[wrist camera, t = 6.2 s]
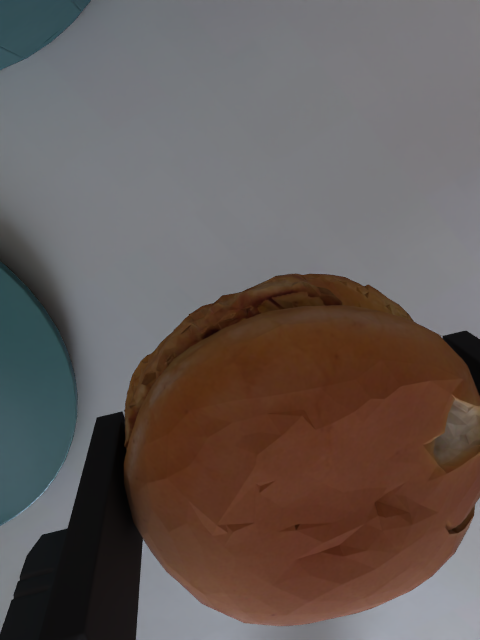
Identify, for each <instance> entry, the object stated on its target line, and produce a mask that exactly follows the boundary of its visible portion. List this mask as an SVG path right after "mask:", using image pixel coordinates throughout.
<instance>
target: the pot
mask: <svg viewBox="0 0 480 640" xmlns="http://www.w3.org/2000/svg"><path fill="white" fill-rule="evenodd" d="M90 1H91V0H0V70H1V69H3V68H6V67H8V66H10V65H12V64H15V63H17V62H19V61H21V60H23V59H26V58H28V57H29V56H31V55H32V54H34V53H35V52H37V51H38V50H40V49H41V48H43V47H44V46H46V45H47V44H49V43H50V42H52V41H53V40H54V39H55V38H56V37H57V36H58V35H60V34H61V33H62V32H63V31H64V30H65V29H66V28H67V27H68V26H69V25H71V24H72V23H73V22H74V21H75V19H76V18H77V17H78V16H79V14H80V13H81V12H82V11H83V9H84V8H85V7H86V6H87V5H88V3H89V2H90Z"/></svg>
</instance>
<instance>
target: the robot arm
mask: <svg viewBox="0 0 480 640" xmlns="http://www.w3.org/2000/svg"><path fill="white" fill-rule="evenodd" d="M443 340H444V341H445V342H446V343H447V344H448V345H449V346H450V347H451V348H452V349H453V350H454V351H455V352H456V353H457V354H458V355H459V356H460V357H461V358H462V359H463V360H464V362H465V363H466V365H467V366H468V368H469V371H470V373H471V376H472V378H473V381H474V383H475V386H476V388H477V391H478V393H479V395H480V339H478V338H477V337H475V336H474V335H472V334H471V333H469V332H468V331H462V332H458V333H454V334H449V335H445V336H443ZM124 444H125V418H124V415H123V412H118V413H114V414H110V415H105V416H101V417H97V419H96V423H95V427H94V430H93V434H92V438H91V442H90V446H89V449H88V453H87V457H86V461H85V465H84V468H83V472H82V476H81V480H80V484H79V487H78V491H77V495H76V499H75V503H74V506H73V510H72V514H71V518H70V522H69V525H68V529H64V530H60V531H56V532H52V533H48V534H44V535H42V536H41V537H40V539H39V540H38V541H37V543H36V544H35V545H34V547H33V548H32V549H31V551H30V552H29V554H28V555H27V557H26V560H25V563H24V566H23V569H22V572H21V575H20V581H18V583H17V586H16V589H15V592H14V599H13V600H12V601H11V604H10V607H9V610H8V612H7V615H6V618H5V621H4V624H3V627H2V630H1V633H0V640H136V628H137V613H138V599H139V584H140V570H141V556H142V541H143V537H142V536H141V534H140V532H139V531H138V529H137V527H136V526H135V524H134V522H133V518H132V514H131V510H130V506H129V502H128V498H127V494H126V490H125V486H124V460H125V456H126V452H127V451H126V447H124Z"/></svg>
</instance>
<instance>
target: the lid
mask: <svg viewBox="0 0 480 640" xmlns="http://www.w3.org/2000/svg"><path fill="white" fill-rule="evenodd" d="M77 405H78V394H77V387H76V380H75V374H74V370H73V367H72V363H71V360H70V357H69V353H68V351H67V348H66V346H65V344H64V342H63V340H62V337H61V335H60V333H59V331H58V329H57V327H56V326H55V324H54V323H53V321H52V319H51V318H50V316H49V315H48V313H47V311H46V310H45V308H44V307H43V306H42V304H41V303H40V302H39V301H38V299H37V298H36V297H35V296H34V295H33V293H32V292H31V291H30V290H29V288H28V287H27V286H26V285H25V284H24V283H23V282H22V281H21V280H20V279H19V278H18V277H17V276H16V275H15V274H14V273H13V272H12V271H11V270H9V269H8V268H7V267H6V266H5V265H4V264H3V263H2V262H0V526H1V525H2V524H4V523H6V522H8V521H10V520H11V519H13V518H14V517H16V516H17V515H18V514H20V513H21V512H22V511H24V510H25V509H27V508H28V507H29V506H30V505H31V504H32V503H33V502H34V501H36V500H37V499H38V498H39V497H40V496H41V495H42V494H43V493H44V492H45V490H46V489H47V488H48V486H49V485H50V484H51V483H52V481H53V480H54V479H55V477H56V476H57V474H58V472H59V470H60V469H61V467H62V465H63V463H64V461H65V459H66V457H67V454H68V451H69V448H70V445H71V443H72V440H73V437H74V432H75V426H76V421H77Z"/></svg>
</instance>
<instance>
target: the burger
mask: <svg viewBox="0 0 480 640" xmlns="http://www.w3.org/2000/svg"><path fill="white" fill-rule="evenodd" d="M124 411H125V444H124V447H126V451H127V452H126V456H125V460H124V486H125V490H126V494H127V498H128V502H129V506H130V510H131V514H132V518H133V522H134V524H135V526H136V527H137V529H138V531H139V532H140V534H141V536H142V537H143V539H144V541H145V542H146V544H147V546H148V547H149V549H150V551H151V552H152V553H153V555H154V556H155V557H156V559H157V560H158V561H159V562H160V564H161V565H162V566H163V568H164V569H165V570H166V572H168V573H169V574H170V575H171V576H172V577H173V578H175V579H176V580H177V581H178V582H179V583H180V584H181V585H182V586H183V587H184V588H186V589H187V590H188V591H189V592H190V593H191V594H192V595H193V596H194V597H195V598H196V599H197V600H198V601H200V602H201V603H202V604H204V605H206V606H208V607H210V608H212V609H214V610H217V611H219V612H221V613H223V614H225V615H228V616H230V617H232V618H234V619H237V620H239V621H241V622H243V623H250V624H261V625H272V626H293V625H302V624H310V623H314V622H319V621H323V620H328V619H332V618H337V617H342V616H346V615H351V614H355V613H359V612H362V611H365V610H368V609H371V608H374V607H376V606H378V605H381V604H383V603H385V602H387V601H389V600H392V599H394V598H396V597H398V596H400V595H403V594H405V593H407V592H409V591H411V590H413V589H414V588H416V587H417V586H419V585H420V584H421V583H423V582H424V581H426V580H427V579H429V578H430V577H432V576H433V575H434V574H435V573H436V572H437V571H438V570H439V569H440V568H441V567H442V566H443V564H444V563H445V562H446V561H447V560H448V559H449V558H450V557H451V556H452V555H453V554H454V553H455V552H456V550H457V548H458V546H459V545H460V543H461V541H462V539H463V537H464V535H465V534H466V532H467V530H468V528H469V526H470V523H471V521H472V519H473V517H474V510H475V503H476V502H477V500H478V499H479V498H480V395H479V393H478V391H477V388H476V386H475V383H474V381H473V378H472V376H471V373H470V371H469V368H468V366H467V365H466V363H465V362H464V360H463V359H462V358H461V357H460V356H459V355H458V354H457V353H456V352H455V351H454V350H453V349H452V348H451V347H450V346H449V345H448V344H447V343H446V342H445V341H444V340H443V339H442V338H441V336H440V335H439V334H437V333H435V332H433V331H431V330H429V329H427V328H425V327H423V326H421V325H419V324H417V323H415V322H414V321H413V320H412V318H411V317H410V315H409V314H408V313H407V312H406V311H405V310H404V309H403V308H402V307H401V306H400V305H399V304H397V303H395V302H393V301H392V300H390V299H388V298H387V297H386V296H384V295H383V294H382V293H381V292H379V291H378V290H376V289H375V288H373V287H371V286H370V285H366V286H362V285H361V284H359V283H356V282H354V281H352V280H350V279H348V278H346V277H341V276H335V275H327V274H306V275H300V274H287V275H280V276H275V277H273V278H271V279H269V280H267V281H265V282H263V283H261V284H258V285H256V286H254V287H252V288H249V289H247V290H245V291H243V292H239V293H235V294H229V295H223V296H221V297H220V298H219V299H218V300H217V301H216V302H215V303H213V304H209V305H205V306H202V307H200V308H199V309H197V310H196V311H194V312H193V313H191V314H189V316H188V317H186V318H185V319H184V320H183V322H182V323H181V324H180V325H179V326H178V327H177V328H176V329H175V330H174V331H173V332H172V333H171V334H170V335H169V336H167V337H166V338H165V339H164V340H163V341H162V342H161V343H160V344H159V346H158V347H157V348H156V350H155V351H154V352H153V353H152V354H150V355H147V356H146V357H145V358H144V359H143V360H141V362H140V364H139V365H138V367H137V368H136V370H135V372H134V373H133V375H132V378H131V381H130V385H129V390H128V392H127V399H126V403H125V410H124Z"/></svg>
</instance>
